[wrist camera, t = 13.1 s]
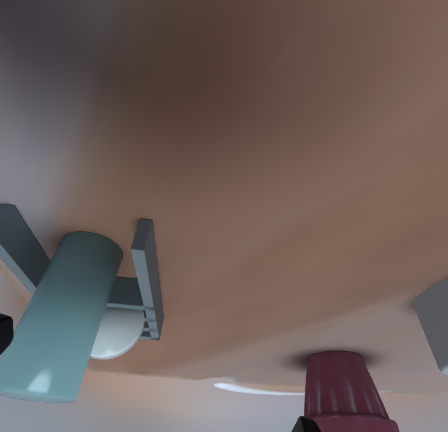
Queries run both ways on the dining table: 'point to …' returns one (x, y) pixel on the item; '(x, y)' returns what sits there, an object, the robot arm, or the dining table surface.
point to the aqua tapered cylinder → (61, 321)
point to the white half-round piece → (117, 332)
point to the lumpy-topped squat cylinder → (435, 321)
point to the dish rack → (123, 287)
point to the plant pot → (343, 395)
